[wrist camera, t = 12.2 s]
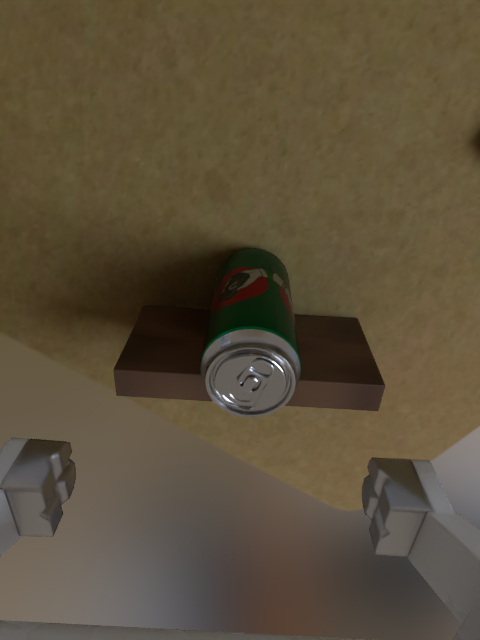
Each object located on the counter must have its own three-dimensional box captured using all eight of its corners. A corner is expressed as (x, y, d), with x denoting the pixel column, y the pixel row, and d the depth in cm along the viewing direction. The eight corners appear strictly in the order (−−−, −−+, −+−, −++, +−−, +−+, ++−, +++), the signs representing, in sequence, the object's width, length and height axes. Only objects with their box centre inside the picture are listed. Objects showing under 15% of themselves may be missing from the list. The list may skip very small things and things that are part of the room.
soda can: (204, 289, 31) (179, 397, 21) (239, 231, 29) (229, 320, 19) (264, 320, 32) (267, 437, 22) (301, 267, 30) (325, 369, 20)
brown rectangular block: (147, 360, 35) (120, 432, 28) (143, 305, 32) (113, 369, 25) (346, 372, 35) (368, 446, 28) (357, 317, 32) (385, 385, 25)
